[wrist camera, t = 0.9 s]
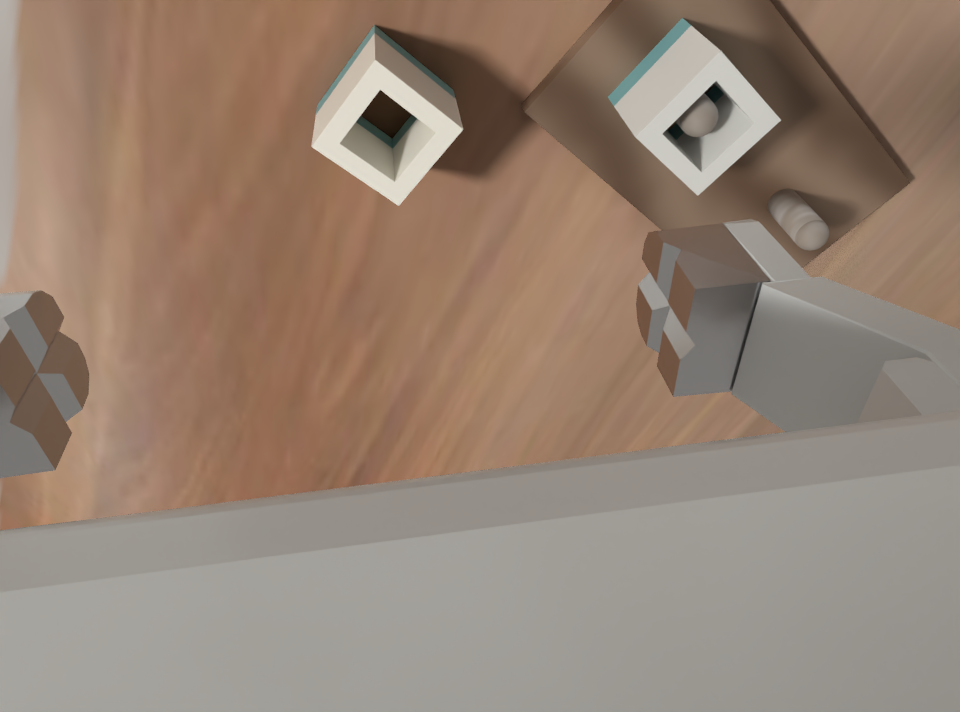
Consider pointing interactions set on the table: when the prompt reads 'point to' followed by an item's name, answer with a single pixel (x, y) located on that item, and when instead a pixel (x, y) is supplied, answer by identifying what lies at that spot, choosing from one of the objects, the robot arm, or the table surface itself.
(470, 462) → the table surface
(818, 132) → the pin board
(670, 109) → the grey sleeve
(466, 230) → the table surface
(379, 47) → the cream sleeve
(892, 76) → the table surface
